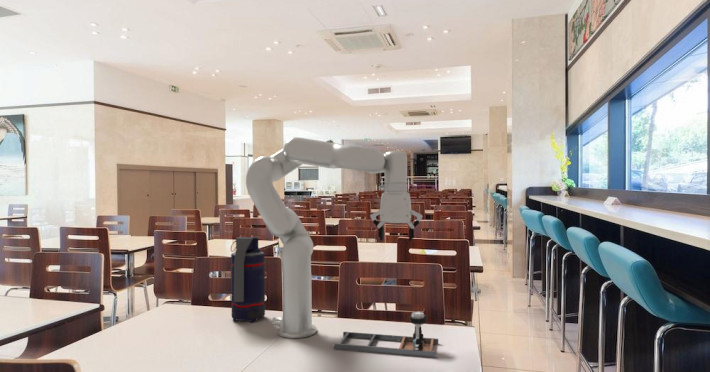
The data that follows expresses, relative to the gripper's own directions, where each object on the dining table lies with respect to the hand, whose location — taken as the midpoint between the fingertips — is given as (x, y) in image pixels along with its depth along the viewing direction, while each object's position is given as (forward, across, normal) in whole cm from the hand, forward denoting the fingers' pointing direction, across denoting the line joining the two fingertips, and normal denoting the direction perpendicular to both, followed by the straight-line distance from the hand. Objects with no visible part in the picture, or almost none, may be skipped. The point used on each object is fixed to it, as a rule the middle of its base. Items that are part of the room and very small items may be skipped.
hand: (396, 240), depth 144 cm
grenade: (+31, -55, +1) cm, 63 cm away
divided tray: (+30, -1, -14) cm, 33 cm away
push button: (+30, +8, -13) cm, 34 cm away
